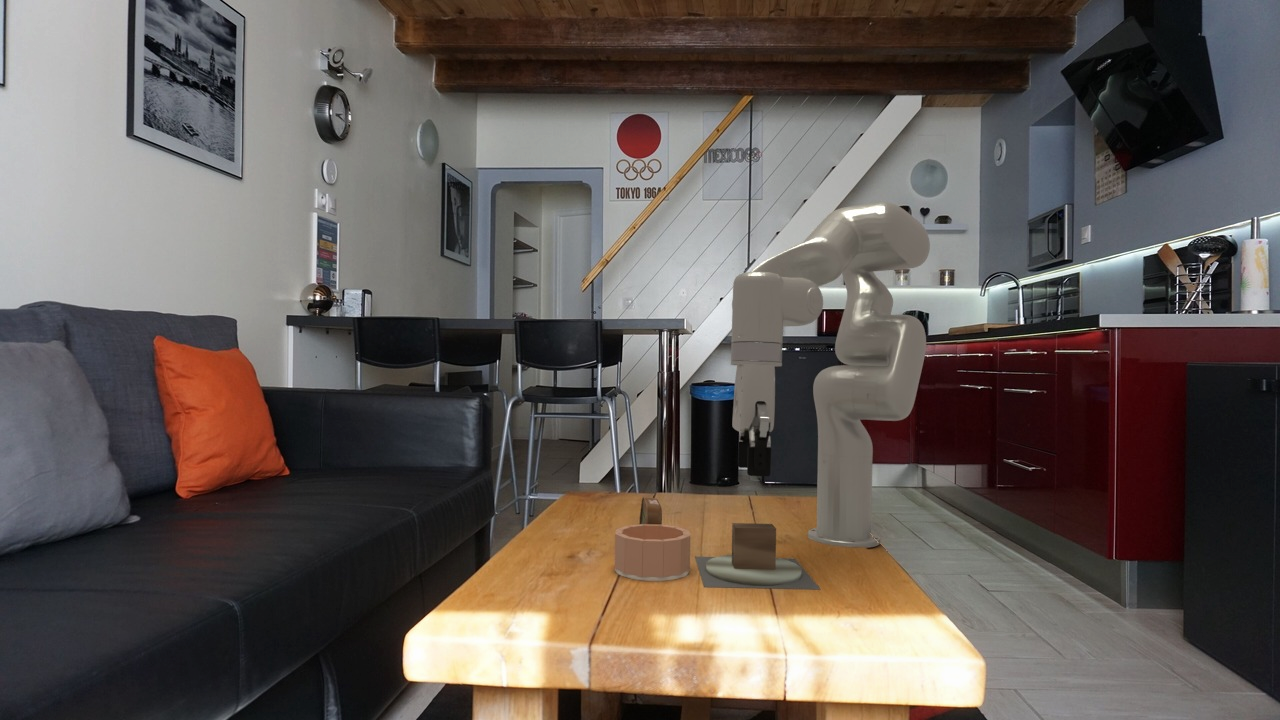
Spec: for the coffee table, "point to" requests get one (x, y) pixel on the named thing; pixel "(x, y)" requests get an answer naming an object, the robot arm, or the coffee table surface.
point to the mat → (713, 582)
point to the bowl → (652, 552)
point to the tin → (650, 511)
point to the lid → (753, 558)
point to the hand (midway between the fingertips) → (753, 471)
